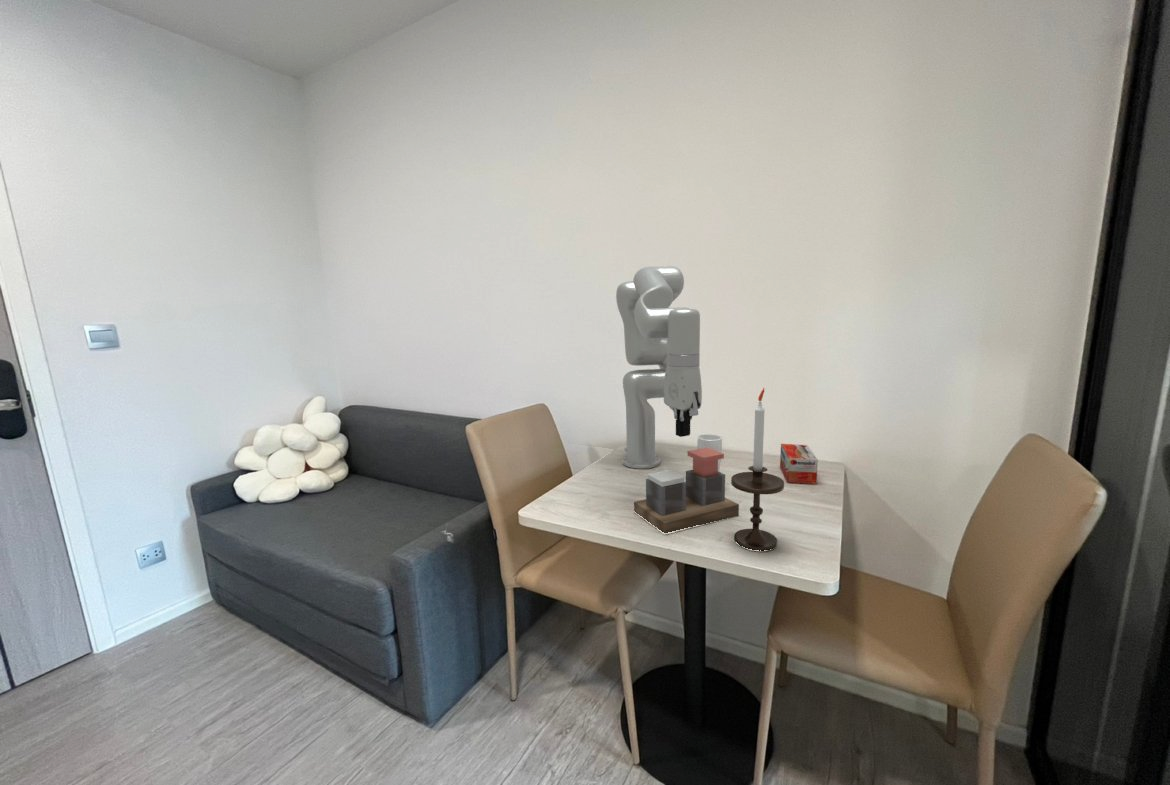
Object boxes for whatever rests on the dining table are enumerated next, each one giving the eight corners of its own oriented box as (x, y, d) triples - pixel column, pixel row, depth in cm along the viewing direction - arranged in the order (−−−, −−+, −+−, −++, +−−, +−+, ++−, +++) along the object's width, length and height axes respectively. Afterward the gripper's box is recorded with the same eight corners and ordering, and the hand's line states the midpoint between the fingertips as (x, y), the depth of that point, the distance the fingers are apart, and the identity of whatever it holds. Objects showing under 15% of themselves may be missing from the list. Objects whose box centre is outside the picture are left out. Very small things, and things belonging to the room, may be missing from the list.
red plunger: (687, 481, 126) (687, 451, 124) (707, 477, 129) (707, 447, 127) (702, 489, 120) (703, 457, 119) (723, 484, 123) (723, 453, 121)
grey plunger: (647, 505, 122) (647, 473, 120) (669, 500, 124) (669, 469, 123) (662, 514, 116) (661, 482, 115) (684, 509, 119) (684, 477, 117)
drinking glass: (718, 492, 136) (719, 441, 134) (694, 489, 139) (695, 439, 137) (722, 484, 142) (723, 434, 140) (699, 481, 145) (700, 432, 143)
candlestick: (788, 539, 109) (796, 385, 102) (770, 559, 101) (776, 393, 94) (742, 526, 116) (746, 381, 109) (721, 543, 108) (724, 388, 102)
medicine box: (817, 485, 140) (818, 459, 138) (787, 484, 141) (788, 457, 140) (806, 468, 154) (807, 444, 153) (778, 467, 156) (779, 443, 155)
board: (634, 512, 125) (633, 475, 123) (703, 496, 134) (703, 461, 132) (664, 535, 112) (664, 494, 111) (738, 515, 121) (739, 477, 120)
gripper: (653, 359, 121) (653, 430, 125) (688, 365, 108) (687, 445, 111) (678, 357, 124) (678, 426, 127) (716, 363, 110) (714, 440, 114)
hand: (682, 435), depth 119 cm, fingers closed
